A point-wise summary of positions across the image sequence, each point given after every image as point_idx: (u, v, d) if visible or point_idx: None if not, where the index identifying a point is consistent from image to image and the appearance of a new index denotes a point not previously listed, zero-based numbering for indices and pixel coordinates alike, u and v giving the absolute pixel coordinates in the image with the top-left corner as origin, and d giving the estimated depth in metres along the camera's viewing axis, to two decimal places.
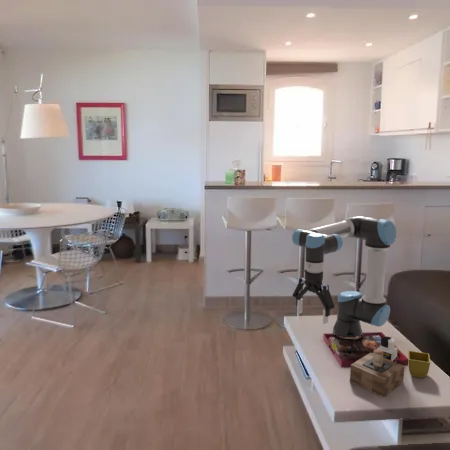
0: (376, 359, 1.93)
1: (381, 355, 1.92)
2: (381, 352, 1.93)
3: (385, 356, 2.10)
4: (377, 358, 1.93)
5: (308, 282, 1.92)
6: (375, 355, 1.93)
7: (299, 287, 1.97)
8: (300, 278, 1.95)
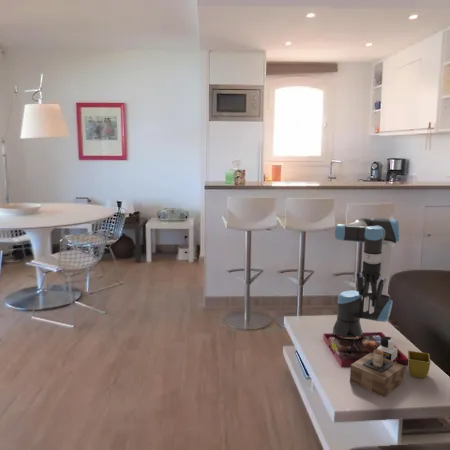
0: (376, 359, 1.93)
1: (381, 355, 1.92)
2: (381, 352, 1.93)
3: (385, 356, 2.10)
4: (377, 358, 1.93)
5: (365, 271, 2.02)
6: (375, 355, 1.93)
7: (360, 282, 2.05)
8: (357, 273, 2.06)
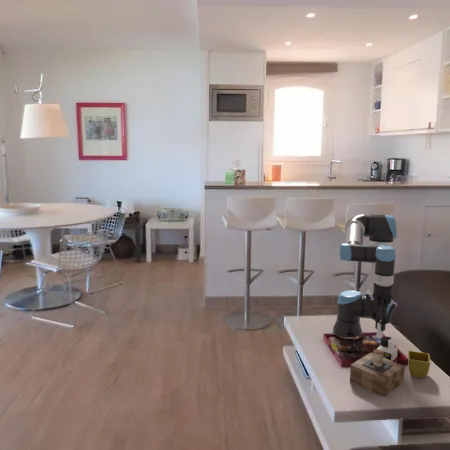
0: (376, 359, 1.93)
1: (381, 355, 1.92)
2: (381, 352, 1.93)
3: (385, 356, 2.10)
4: (377, 358, 1.93)
5: (376, 293, 1.89)
6: (375, 355, 1.93)
7: (372, 305, 1.92)
8: (367, 296, 1.93)
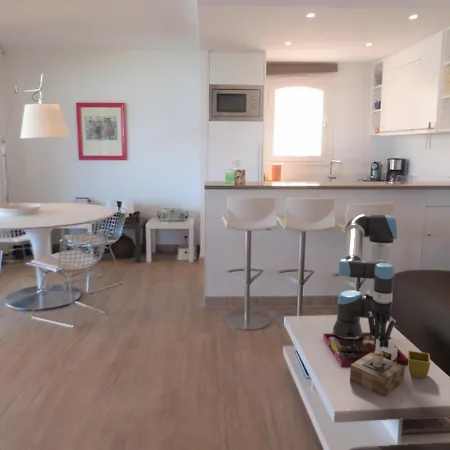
0: (376, 360, 1.93)
1: (381, 357, 1.92)
2: (381, 354, 1.93)
3: (385, 356, 2.10)
4: (377, 359, 1.93)
5: (375, 310, 1.91)
6: (375, 357, 1.93)
7: (371, 322, 1.93)
8: (366, 312, 1.94)
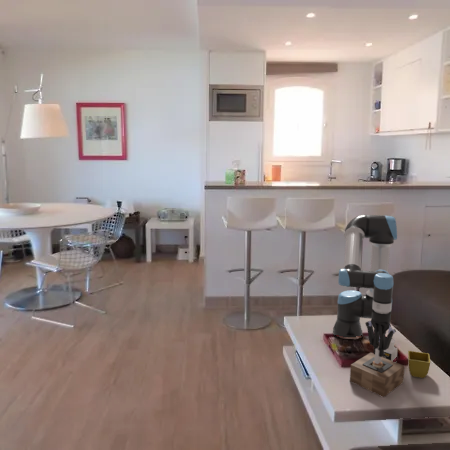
0: None
1: (380, 366, 1.93)
2: (380, 363, 1.94)
3: (385, 356, 2.10)
4: None
5: (374, 320, 1.92)
6: None
7: (370, 331, 1.94)
8: (366, 322, 1.95)
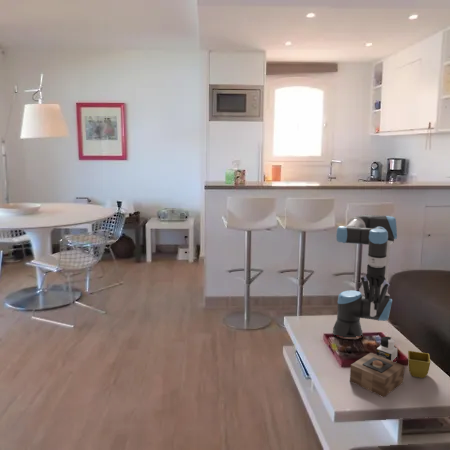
0: None
1: (380, 366, 1.93)
2: (380, 363, 1.94)
3: (385, 356, 2.10)
4: None
5: (369, 274, 1.98)
6: None
7: (366, 286, 2.00)
8: None
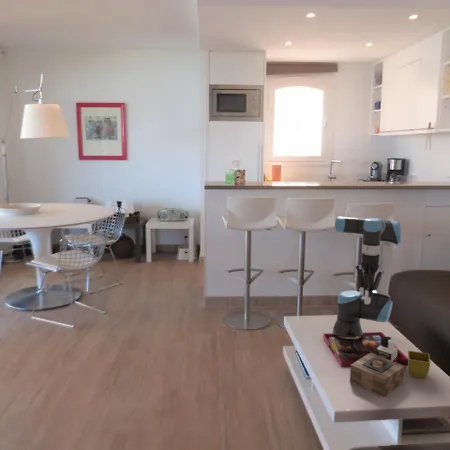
0: None
1: (380, 366, 1.93)
2: (380, 363, 1.94)
3: (385, 356, 2.10)
4: None
5: (364, 262, 2.04)
6: None
7: (360, 274, 2.07)
8: (356, 266, 2.08)
